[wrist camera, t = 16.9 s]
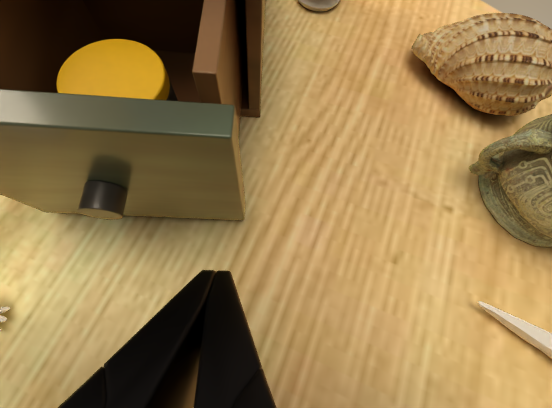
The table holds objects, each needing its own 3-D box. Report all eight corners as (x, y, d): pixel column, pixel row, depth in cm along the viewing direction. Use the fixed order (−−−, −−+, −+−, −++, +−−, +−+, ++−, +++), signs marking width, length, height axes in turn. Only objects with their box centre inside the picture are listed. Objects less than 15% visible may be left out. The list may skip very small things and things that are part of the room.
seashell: (400, 128, 23) (550, 130, 19) (405, 71, 18) (610, 56, 14) (411, 66, 26) (545, 56, 22) (418, 2, 21) (594, -29, 17)
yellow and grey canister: (186, 175, 15) (155, 122, 11) (108, 171, 15) (40, 115, 10) (195, 113, 17) (172, 41, 12) (124, 108, 16) (72, 34, 12)
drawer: (242, 240, 15) (228, 176, 7) (38, 233, 15) (-245, 151, 6) (254, 62, 20) (253, -104, 12) (99, 50, 19) (-20, -136, 11)
